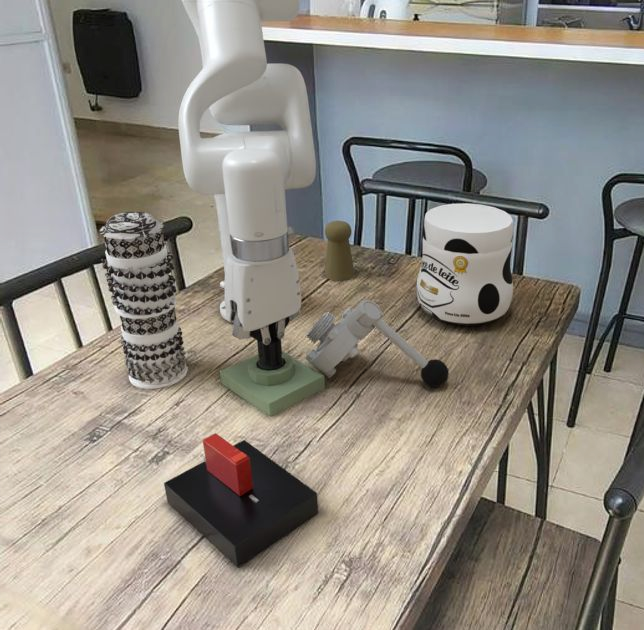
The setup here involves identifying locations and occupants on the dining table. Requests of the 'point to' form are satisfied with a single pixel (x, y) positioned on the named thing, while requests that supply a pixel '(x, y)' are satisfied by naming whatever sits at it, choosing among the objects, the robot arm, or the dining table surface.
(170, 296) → the decorative candle
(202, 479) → the base
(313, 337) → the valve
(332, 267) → the olive brown pawn
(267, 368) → the stop button
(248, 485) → the tap handle
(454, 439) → the dining table surface
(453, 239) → the milk container
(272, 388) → the button housing
